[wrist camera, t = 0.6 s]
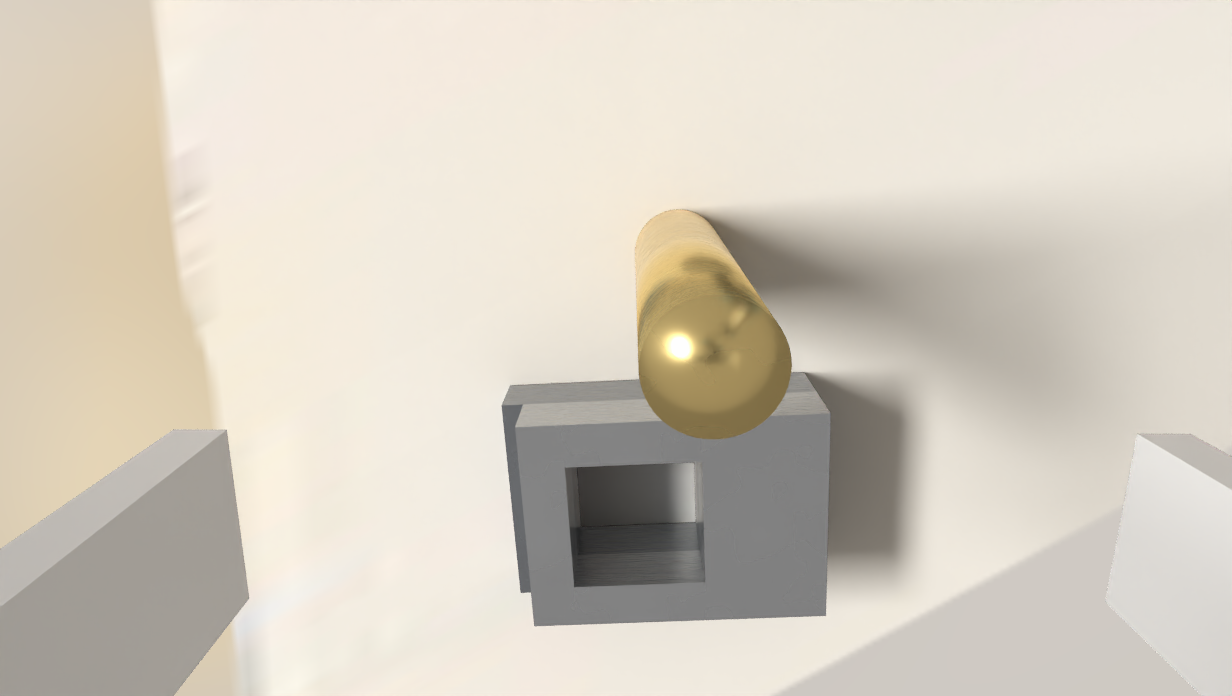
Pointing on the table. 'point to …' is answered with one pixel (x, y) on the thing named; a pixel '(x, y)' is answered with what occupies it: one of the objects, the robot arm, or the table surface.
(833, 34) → the table surface
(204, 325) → the table surface
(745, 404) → the pin
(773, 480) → the grey block with pocket
